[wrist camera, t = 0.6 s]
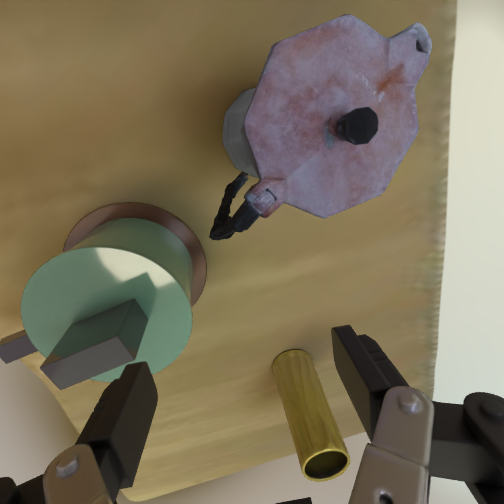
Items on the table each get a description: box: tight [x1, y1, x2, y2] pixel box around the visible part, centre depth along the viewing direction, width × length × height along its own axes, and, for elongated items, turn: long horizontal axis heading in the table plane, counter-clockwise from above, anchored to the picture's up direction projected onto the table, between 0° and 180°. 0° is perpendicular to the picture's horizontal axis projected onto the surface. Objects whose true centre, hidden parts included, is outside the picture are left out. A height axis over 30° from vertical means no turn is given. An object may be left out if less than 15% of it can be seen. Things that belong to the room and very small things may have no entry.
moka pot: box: [209, 14, 432, 240], centre depth 22 cm, size 10×15×20 cm, turn 138°
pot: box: [0, 218, 194, 390], centre depth 27 cm, size 19×14×15 cm
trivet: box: [63, 202, 207, 307], centre depth 34 cm, size 16×16×1 cm
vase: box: [272, 350, 350, 482], centre depth 37 cm, size 6×6×14 cm
